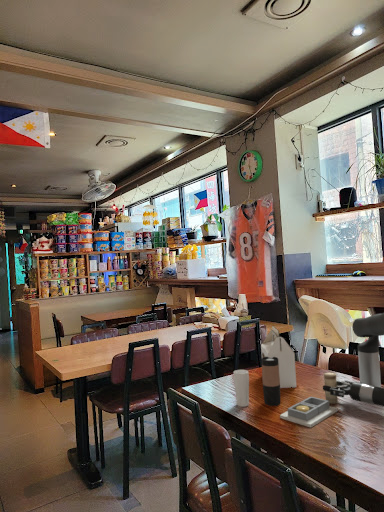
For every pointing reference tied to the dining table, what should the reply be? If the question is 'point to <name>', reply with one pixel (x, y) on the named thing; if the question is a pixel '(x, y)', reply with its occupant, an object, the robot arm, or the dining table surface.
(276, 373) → the travel mug
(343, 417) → the dining table surface
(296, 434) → the dining table surface
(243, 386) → the white cylinder
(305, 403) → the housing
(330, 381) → the lidded cup
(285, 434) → the dining table surface
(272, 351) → the gable box
